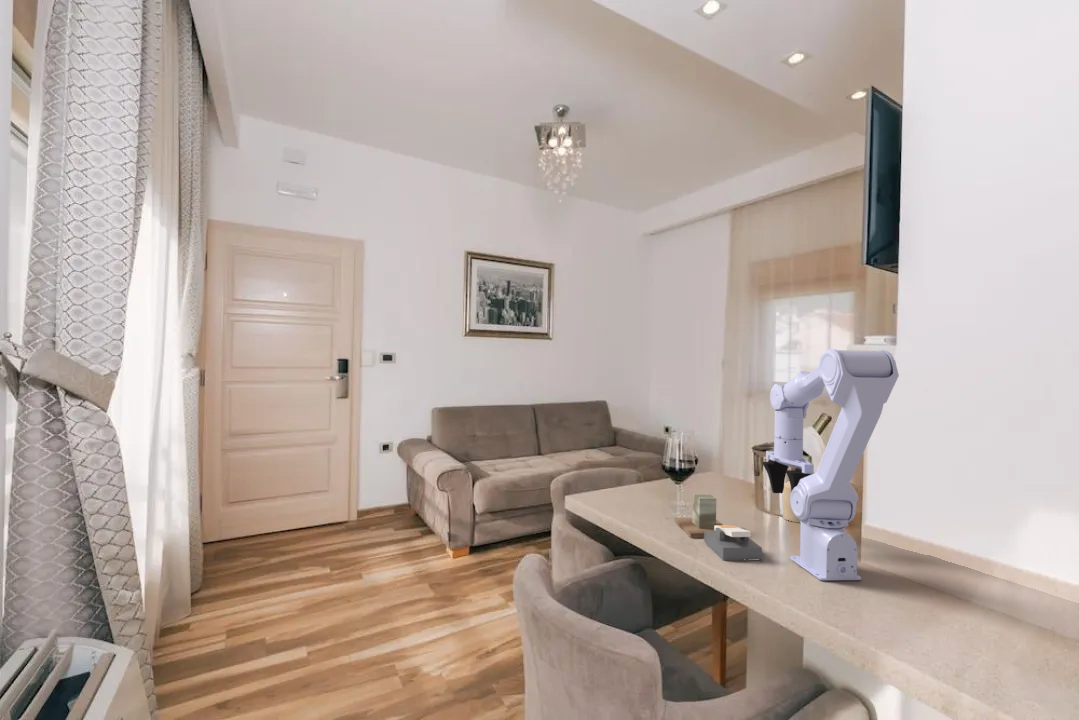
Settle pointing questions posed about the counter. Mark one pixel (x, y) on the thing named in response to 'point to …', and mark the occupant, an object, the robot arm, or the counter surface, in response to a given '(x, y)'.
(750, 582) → the counter surface
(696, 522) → the block
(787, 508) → the candle
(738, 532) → the rocker
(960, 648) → the counter surface
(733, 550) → the switch base
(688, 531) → the walnut board
